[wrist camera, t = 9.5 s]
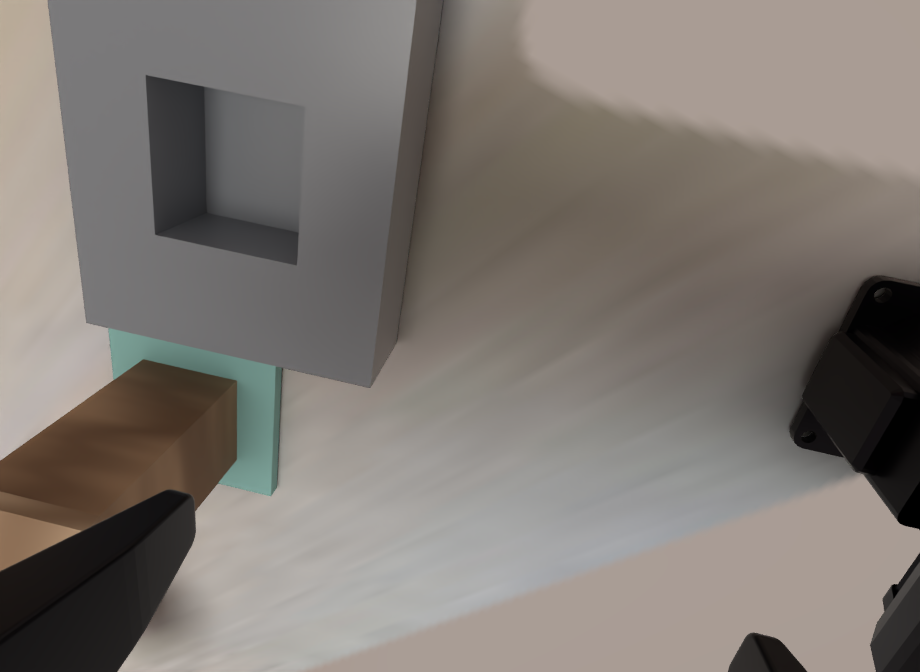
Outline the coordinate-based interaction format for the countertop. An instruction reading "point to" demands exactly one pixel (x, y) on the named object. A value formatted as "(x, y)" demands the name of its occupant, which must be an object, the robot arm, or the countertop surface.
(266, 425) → the mat
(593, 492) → the countertop surface
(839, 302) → the countertop surface
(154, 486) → the plug
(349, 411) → the countertop surface
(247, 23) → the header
